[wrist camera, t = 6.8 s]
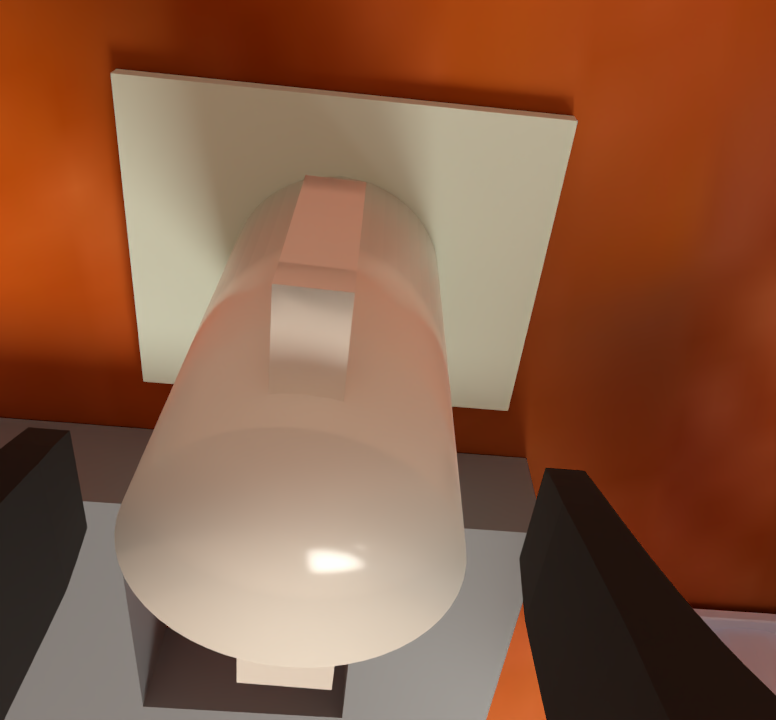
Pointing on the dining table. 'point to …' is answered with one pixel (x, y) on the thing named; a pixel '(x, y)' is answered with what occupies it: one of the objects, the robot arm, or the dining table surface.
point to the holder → (219, 672)
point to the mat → (338, 159)
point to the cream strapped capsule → (306, 447)
